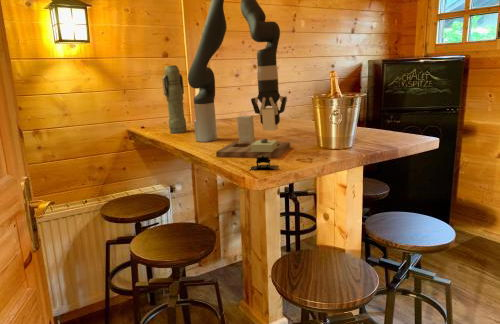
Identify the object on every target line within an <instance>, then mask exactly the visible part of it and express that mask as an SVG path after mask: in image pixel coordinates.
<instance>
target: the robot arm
mask: <svg viewBox="0 0 500 324" xmlns="http://www.w3.org/2000/svg"><path fill="white" fill-rule="evenodd" d="M240 1H241V2H240V11H241V14H242V16H243V18H244V19H245V21H246V22H247V24H248V29H249V33H250V34H249V35H250V37H251V39H252V40H253V41H254V42H256V43H266V47H264V48H262V49H260V50H258V51H257V52H256V60H257V62H256V63H257V73H256V74H257V75H256V77H257V78H256V79H257V89H258V94H257V96H256V97H252V98H250V101H251V104H252V108H253V111H254V113H255V114H258V115H259V119H260V123H261V124H262V126H263V118H262V109H265V108H267V107H271V108H273V109H274V110H275V125H277V124H278V125H279V123H280V122H281V118H280V117H281V116H280V114H282V113H284V112H285V109H286V108H285V107H286V105H287V101H288V97H287V96H286V95H285V96H283V95H281V94H280V91H279V90H280V89H279V72H278V66H277V64H278V63H277V51H278V45H279V41H280V35H281V30H280V29H281V28H280V26H279V24H278V23H277V22H275V21H273V20H272V21H266V19H267V18H266V16H267V15H266V14H265V12H264V10H263V9H262V7H261V6H260V4H259V3H258V1H257V0H240ZM224 2H225V0H211V1H210V6H209V9H208V14H207V15H206V19H205V22H204V26H203V29H202V33H201V36H200V39H199V43H198V47H197V50H196V53H195V55H194V58H193V61H192V63H191V65H190V68H189V71H188V74H187V82H188V85H189V86H190V88H192V89H197V90H198V89H199V91H198V93H197V95H195V96H194V97H193V106H194V107H193V108H194V117H195V118H194V119H195V120H193V124H194V125H193V127H194V134H195V141H196V142H201V143H202V142H204V143H206V142H207V143H208V142H214V141H216V140H218V131H217V120H216V119H217V118H216V108H215V107H216V106H215V97H216V78H215V73H214V71H213V69H212V68H211V67H209V66H208V65H209V62H210V60H211V59H212V57H213V56H214V55H215V54H216V52H217V51H218V50H219V48H220V47H221V45H222V44H223V41H224V39H225V35H226V32H227V26H228V25H227V20H226V15H225V11H224ZM278 101H280V108H279V105H278ZM258 102H260V108H259V104H258Z"/></svg>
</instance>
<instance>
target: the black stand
mask: <svg viewBox="0 0 500 324" xmlns="http://www.w3.org/2000/svg"><path fill="white" fill-rule="evenodd" d="M261 163H264V164H261ZM255 164H256V165H253V166H252V167H251V169H250V170H249V169H248V171H249V172H254V171H256V172H257V171H278V170H279V165H271V158H269V155H258V157H257V158H256V161H255ZM251 170H252V171H251ZM253 170H254V171H253Z"/></svg>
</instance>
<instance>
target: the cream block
mask: <svg viewBox="0 0 500 324" xmlns="http://www.w3.org/2000/svg"><path fill="white" fill-rule="evenodd" d="M262 118H263V125H262V131H263V132H264V131H265V132H268V131H269V132H270V131H271V132H273V131H276V130H277V129H279V126H278V125H279V123H278V124H277V125H275V110H274V109H273V108H272V107H266V108H265V109H262Z"/></svg>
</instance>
